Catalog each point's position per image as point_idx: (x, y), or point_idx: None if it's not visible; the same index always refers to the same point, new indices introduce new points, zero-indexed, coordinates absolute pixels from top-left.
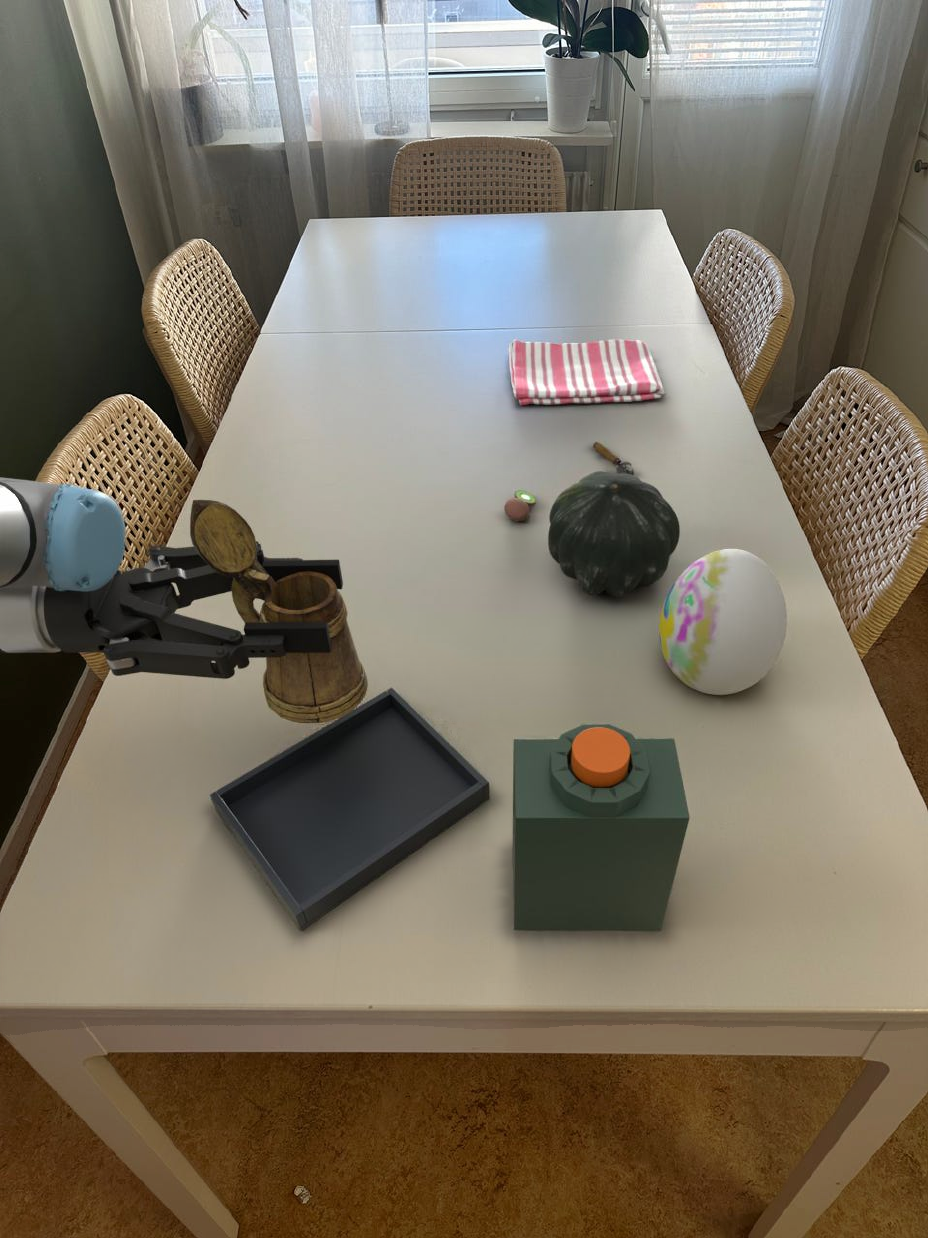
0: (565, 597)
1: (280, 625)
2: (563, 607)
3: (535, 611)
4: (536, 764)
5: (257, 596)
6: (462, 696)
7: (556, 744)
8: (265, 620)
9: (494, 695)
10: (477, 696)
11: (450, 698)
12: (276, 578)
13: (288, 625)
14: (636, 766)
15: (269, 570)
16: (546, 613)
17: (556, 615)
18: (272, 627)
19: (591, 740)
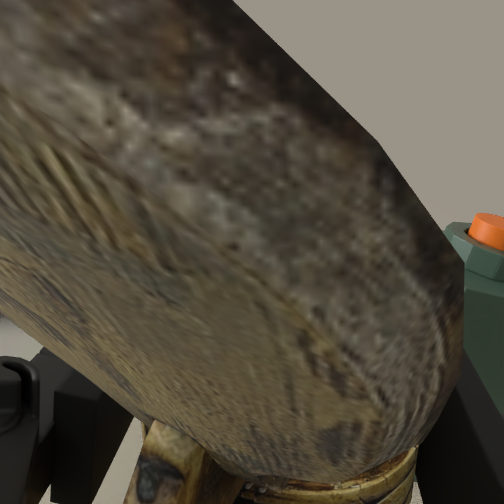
0: (8, 324)
1: (472, 389)
2: (24, 331)
3: (10, 353)
4: (494, 285)
5: (237, 487)
6: (123, 467)
7: (491, 251)
8: (378, 477)
9: (138, 430)
10: (131, 449)
11: (120, 483)
12: (112, 421)
13: (462, 372)
14: None
15: (107, 401)
16: (22, 346)
17: (33, 339)
18: (490, 411)
19: (497, 223)
